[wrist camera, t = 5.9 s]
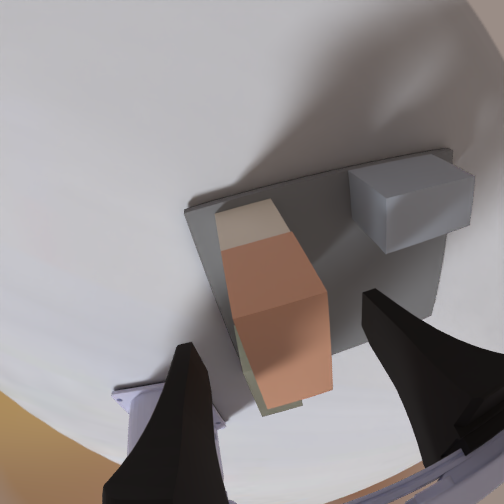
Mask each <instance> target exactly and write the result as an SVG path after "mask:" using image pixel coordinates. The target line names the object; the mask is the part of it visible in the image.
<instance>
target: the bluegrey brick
mask: <svg viewBox="0 0 504 504" xmlns="http://www.w3.org/2000/svg"><path fill="white" fill-rule="evenodd" d="M348 175H349V186H350V198H351V213H352V219H353V220H354V221H355V222H356V223H357V224H358V225H359V226H360V227H361V228H362V229H363V230H364V232H365V233H366V234H367V235H368V236H369V237H370V238H371V239H372V240H373V241H374V242H375V243H376V244H377V245H378V246H379V247H380V248H381V250H382V251H383V252H384V253H385V254H388V253H391V252H394V251H397V250H400V249H403V248H406V247H409V246H412V245H415V244H418V243H421V242H424V241H427V240H429V239H432V238H435V237H438V236H441V235H444V234H447V233H449V232H452V231H455V230H458V229H461V228H463V227H466V226H469V225H470V219H471V211H472V203H473V195H474V184H475V176H474V175H472V174H470V173H468V172H466V171H464V170H463V169H461V168H459V167H457V166H455V165H453V164H451V163H449V162H447V161H445V160H443V159H441V158H439V157H437V156H435V155H432V154H428V155H422V156H417V157H412V158H406V159H401V160H396V161H391V162H386V163H381V164H377V165H372V166H367V167H362V168H358V169H353V170H349V171H348Z"/></svg>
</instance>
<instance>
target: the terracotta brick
mask: <svg viewBox="0 0 504 504" xmlns="http://www.w3.org/2000/svg"><path fill="white" fill-rule="evenodd" d="M221 256H222V262H223V267H224V273H225V279H226V285H227V290H228V296H229V302H230V307H231V313H232V318H233V321H234V324H235V327H236V329H237V332H238V335H239V337H240V340H241V343H242V345H243V348H244V351H245V353H246V356H247V358H248V361H249V364H250V366H251V369H252V371H253V374H254V376H255V379H256V381H257V384H258V386H259V389H260V391H261V394H262V396H263V399H264V401H265V404H266V406H267V409H271V408H275V407H278V406H282V405H285V404H289V403H292V402H296V401H299V400H302V399H306V398H309V397H312V396H315V395H318V394H321V393H324V392H327V391H330V390H333V382H332V357H331V338H330V322H329V308H328V295H327V290H326V288H325V287H324V285H323V283H322V281H321V280H320V278H319V276H318V275H317V273H316V271H315V269H314V268H313V266H312V264H311V262H310V261H309V259H308V257H307V256H306V254H305V252H304V251H303V249H302V247H301V246H300V244H299V242H298V240H297V239H296V237H295V235H294V234H293V232H292V231H291V232H288V233H284V234H280V235H277V236H273V237H270V238H266V239H262V240H259V241H255V242H252V243H248V244H244V245H241V246H237V247H234V248H230V249H227V250H223V251H221Z"/></svg>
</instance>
